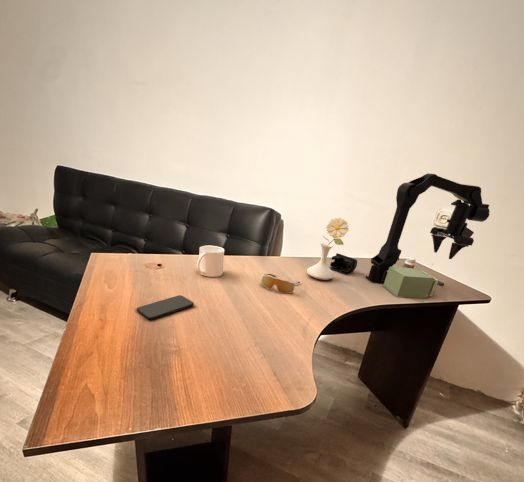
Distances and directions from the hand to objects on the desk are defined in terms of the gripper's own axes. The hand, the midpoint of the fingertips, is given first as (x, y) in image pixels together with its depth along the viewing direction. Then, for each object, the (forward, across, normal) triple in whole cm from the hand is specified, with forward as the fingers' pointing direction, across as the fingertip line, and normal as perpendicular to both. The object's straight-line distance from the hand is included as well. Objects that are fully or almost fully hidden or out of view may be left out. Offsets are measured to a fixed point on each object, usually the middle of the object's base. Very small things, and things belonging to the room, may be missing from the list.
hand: (442, 255), depth 131 cm
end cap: (+14, +12, +38) cm, 43 cm away
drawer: (+13, -9, +14) cm, 21 cm away
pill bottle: (+14, +12, +5) cm, 19 cm away
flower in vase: (+15, +2, +52) cm, 54 cm away
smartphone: (+15, -31, +112) cm, 117 cm away
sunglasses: (+15, -9, +72) cm, 74 cm away
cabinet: (+14, -9, +19) cm, 26 cm away
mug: (+15, -1, +99) cm, 100 cm away
